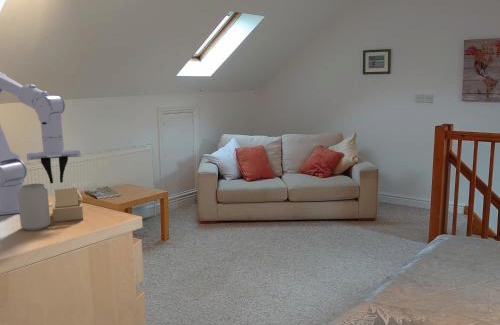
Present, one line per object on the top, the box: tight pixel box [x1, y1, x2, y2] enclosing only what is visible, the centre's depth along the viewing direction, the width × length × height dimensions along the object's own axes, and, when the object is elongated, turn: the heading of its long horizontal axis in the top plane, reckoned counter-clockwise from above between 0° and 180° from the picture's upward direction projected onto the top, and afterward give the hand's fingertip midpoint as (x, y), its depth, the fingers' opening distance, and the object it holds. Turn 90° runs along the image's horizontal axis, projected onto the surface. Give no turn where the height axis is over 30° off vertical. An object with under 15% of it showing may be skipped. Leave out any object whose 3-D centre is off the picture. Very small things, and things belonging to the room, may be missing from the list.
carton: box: [48, 198, 84, 224], centre depth 143 cm, size 15×12×4 cm
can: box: [18, 183, 51, 232], centre depth 131 cm, size 8×8×12 cm
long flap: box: [54, 187, 79, 207], centre depth 137 cm, size 5×6×1 cm
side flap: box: [72, 182, 83, 201], centre depth 143 cm, size 5×5×1 cm
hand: (56, 182), depth 141 cm, fingers open, 2 cm apart
